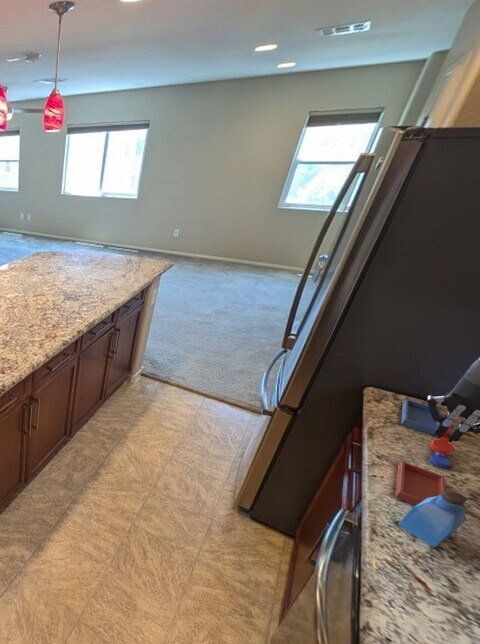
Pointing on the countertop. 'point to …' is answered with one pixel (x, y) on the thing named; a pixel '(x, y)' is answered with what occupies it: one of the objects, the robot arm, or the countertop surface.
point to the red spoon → (443, 444)
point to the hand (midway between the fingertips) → (443, 438)
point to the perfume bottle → (436, 517)
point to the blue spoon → (440, 460)
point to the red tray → (417, 483)
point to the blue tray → (418, 417)
